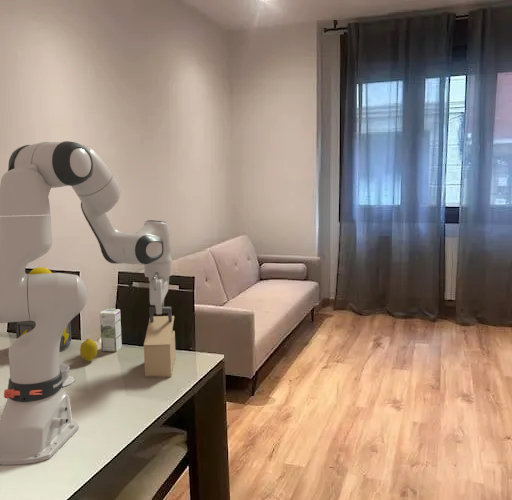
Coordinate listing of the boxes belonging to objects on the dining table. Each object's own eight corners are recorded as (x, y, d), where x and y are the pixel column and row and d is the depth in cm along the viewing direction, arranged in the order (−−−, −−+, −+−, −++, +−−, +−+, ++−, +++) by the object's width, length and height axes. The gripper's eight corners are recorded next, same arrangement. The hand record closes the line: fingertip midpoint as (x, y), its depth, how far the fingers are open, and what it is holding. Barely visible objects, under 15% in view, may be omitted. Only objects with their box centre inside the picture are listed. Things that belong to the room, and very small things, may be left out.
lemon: (94, 364, 171) (93, 341, 169) (78, 364, 171) (77, 341, 170) (100, 358, 176) (99, 336, 175) (84, 358, 176) (82, 336, 175)
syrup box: (122, 346, 188) (120, 308, 186) (116, 352, 182) (114, 312, 180) (107, 346, 189) (105, 308, 187) (101, 351, 183) (99, 312, 181)
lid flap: (170, 345, 158) (168, 329, 155) (143, 346, 157) (142, 330, 155) (174, 317, 172) (173, 302, 170) (150, 317, 172) (148, 302, 169)
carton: (171, 377, 159) (170, 346, 158) (145, 377, 159) (143, 346, 158) (175, 359, 175) (174, 330, 174) (152, 359, 175) (151, 331, 173)
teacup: (63, 390, 150) (62, 375, 149) (32, 388, 152) (31, 373, 151) (80, 377, 160) (80, 363, 159) (52, 375, 162) (51, 361, 161)
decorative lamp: (82, 342, 194) (78, 264, 190) (48, 358, 176) (43, 273, 172) (41, 337, 200) (36, 261, 195) (4, 353, 182) (-2, 270, 178)
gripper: (164, 276, 155) (166, 320, 157) (171, 264, 175) (172, 304, 177) (143, 276, 154) (145, 321, 156) (152, 265, 175) (154, 304, 177)
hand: (160, 311), depth 167 cm, fingers open, 3 cm apart
